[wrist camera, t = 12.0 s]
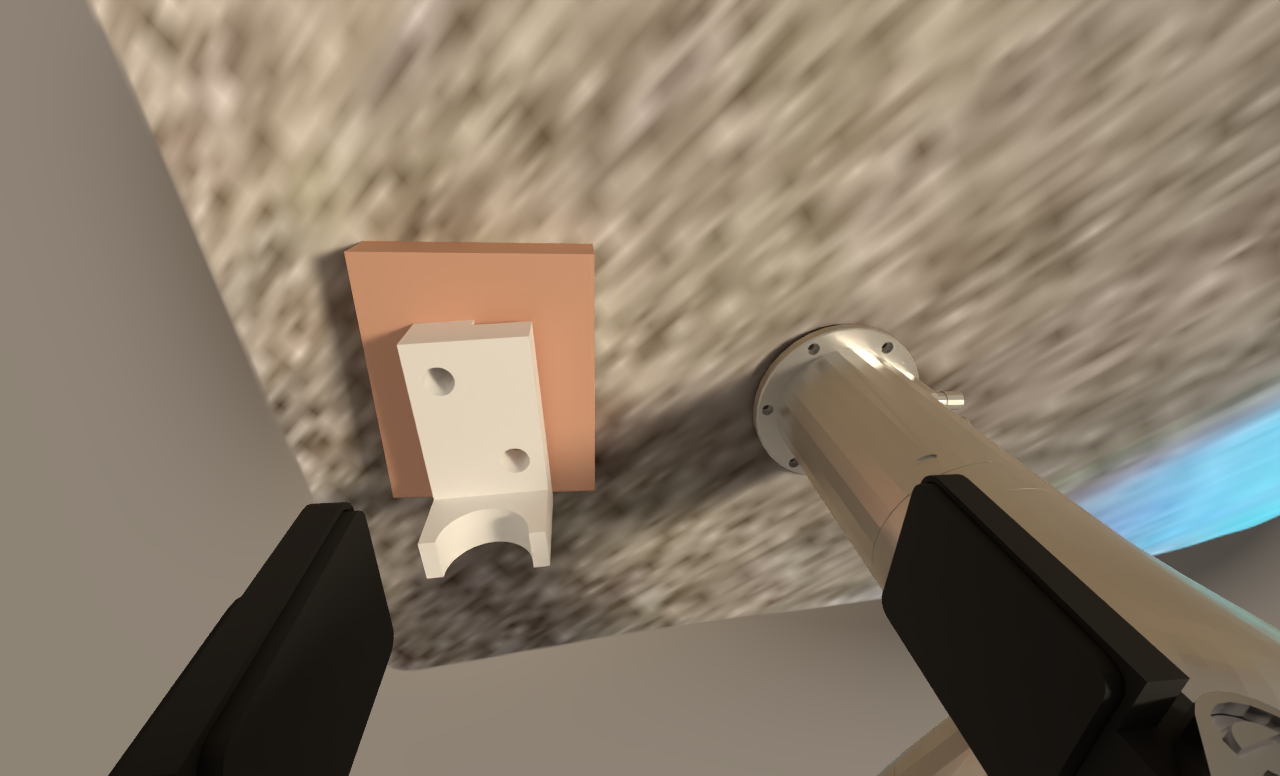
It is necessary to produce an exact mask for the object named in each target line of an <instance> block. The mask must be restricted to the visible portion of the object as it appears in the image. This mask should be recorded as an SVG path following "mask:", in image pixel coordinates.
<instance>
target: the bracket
mask: <svg viewBox="0 0 1280 776" xmlns="http://www.w3.org/2000/svg"><path fill="white" fill-rule="evenodd" d="M397 348H398V353H399V357H400V361H401V365H402V369H403V373H404V378H405V382H406V386H407V390H408V394H409V398H410V403H411V407H412V411H413V415H414V419H415V423H416V428H417V432H418V436H419V440H420V444H421V448H422V452H423V457H424V461H425V465H426V469H427V473H428V477H429V482H430V486H431V490H432V494H433V498H434V501H433V504H432V506H431V509H430V512H429V515H428V517H427V520H426V523H425V526H424V528H423V531H422V534H421V536H420V539H419V542H418V547H419V551H420V554H421V558H422V562H423V566H424V569H425V573H426V577H427V579H428V578H438V577H444V575H445V572H446V570H447V568H448V567H449V566H450V564H451V563H452V562H453V561H454V560H455V559H456V558H457V557H458V556H460V555H461V554H462V553H464V552H465V551H467V550H469V549H471V548H473V547H476V546H478V545H481V544H485V543H490V542H511V543H515V544H518V545H520V546H522V547H524V548H525V549H526V550H527V551H528V552H529V553H530V554H531V556H532V559H533V565H534V567H544V566H550V554H551V533H552V512H553V492H552V484H551V475H550V467H549V459H548V451H547V442H546V434H545V426H544V417H543V409H542V401H541V393H540V384H539V376H538V368H537V360H536V351H535V343H534V335H533V327H532V321H526V322H510V323H495V324H479V325H475V324H474V320H463V321H447V322H431V323H415V324H413V325H412V326H411V327H410V329H409V330H408V331H407V333H406V334H405V335H404V336H403V338H402V339H401V340H400V341H399V343H398V344H397ZM514 449H521V450H514Z"/></svg>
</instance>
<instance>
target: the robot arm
mask: <svg viewBox="0 0 1280 776" xmlns="http://www.w3.org/2000/svg"><path fill="white" fill-rule="evenodd" d="M811 344H812V345H811ZM810 345H811V347H809V346H810ZM765 405H766V406H765ZM963 405H964V397H963V395H962V393H961V392H959V391H941V392H935V391H933V390H932V389H931V388H929V387H928V386H926V385H925V384H924V383H922V382H921V381H920V380H919V375H918V371H917V368H916V365H915V362H914V360H913V358H912V357H911V355H910V354H909V352H908V350H907V349H906V348H905V347H904V346H903V345H902V344H901V343H899V342H898V341H897V340H896V339H894V338H893V337H891V336H890V335H888V334H887V333H885V332H883V331H881V330H878V329H876V328H873V327H870V326H864V325H859V324H841V325H836V326H831V327H825V328H823V329H820V330H817V331H815V332H812V333H810V334H808V335H806V336H804V337H803V338H801V339H799V340H797V341H796V342H794V343H793V344H792V345H790V346H789V347H788V348H787V349H785V350H784V351H783V352H782V353H781V354H780V355H779V356H778V357H777V358H776V359H775V361H774V362H773V363H772V364H771V365H770V366H769V368H768V370H767V371H766V373H765V375H764V376H763V378H762V379H761V382H760V384H759V387H758V390H757V392H756V396H755V401H754V407H753V418H754V425H755V429H756V433H757V436H758V438H759V440H760V441H761V443H762V445H763V447H764V448H765V450H766V451H767V453H768V454H769V456H770V457H771V458H772V459H774V460H775V461H776V462H777V463H778V464H779V465H781V466H782V467H784V468H786V469H787V470H789V471H792V472H795V473H798V474H801V475H806V476H807V477H808V478H809V480H810V481H811V483H812V484H813V486H814V487H815V489H816V490H817V492H818V494H819V495H820V497H821V498H822V500H823V501H824V503H825V504H826V506H827V507H828V509H829V510H830V512H831V513H832V515H833V516H834V518H835V519H836V521H837V522H838V524H839V525H840V527H841V528H842V530H843V531H844V533H845V534H846V536H847V537H848V539H849V540H850V542H851V543H852V545H853V546H854V548H855V550H856V551H857V553H858V554H859V556H860V557H861V559H862V560H863V562H864V563H865V565H866V566H867V568H868V569H869V571H870V572H871V574H872V575H873V577H874V578H875V580H876V581H877V583H878V584H879V586H880V587H881V588H882V590H883V593H882V605H883V609H884V612H885V614H886V616H887V618H888V619H889V621H890V623H891V624H892V625H893V627H894V629H895V630H896V632H897V634H898V635H899V637H900V638H901V640H902V641H903V643H904V644H905V646H906V648H907V649H908V651H909V652H910V654H911V656H912V657H913V659H914V660H915V662H916V663H917V665H918V667H919V668H920V670H921V671H922V673H923V675H924V676H925V678H926V679H927V681H928V682H929V684H930V686H931V687H932V688H933V690H934V692H935V693H936V695H937V697H938V698H939V700H940V701H941V703H942V705H943V706H944V708H945V709H946V711H947V712H948V714H949V716H948V717H947V718H946V719H945V720H943V721H942V722H941V723H940V724H938V725H937V726H936V727H934V728H933V729H932V730H931V731H929V732H928V733H927V734H926V735H925V736H923V737H922V738H920V739H919V740H918V741H917V742H915V743H914V744H913V745H912V746H910V747H909V748H908V749H906V750H905V751H904V752H903V753H902V754H901V755H900V756H899V757H898V758H896V759H895V760H894V761H893V762H891V763H890V764H889V765H888V766H887V767H885V768H884V769H883V770H882V771H881V772H880V773H879V774H878V775H877V776H1280V630H1278V629H1277V628H1275V627H1273V626H1271V625H1270V624H1268V623H1266V622H1265V621H1263V620H1261V619H1259V618H1258V617H1256V616H1254V615H1252V614H1250V613H1249V612H1247V611H1245V610H1243V609H1242V608H1240V607H1238V606H1236V605H1235V604H1233V603H1231V602H1229V601H1228V600H1226V599H1224V598H1222V597H1221V596H1219V595H1217V594H1215V593H1214V592H1212V591H1210V590H1208V589H1207V588H1205V587H1203V586H1202V585H1200V584H1198V583H1196V582H1195V581H1193V580H1191V579H1189V578H1188V577H1186V576H1184V575H1182V574H1181V573H1179V572H1177V571H1176V570H1174V569H1173V568H1171V567H1170V566H1168V565H1166V564H1165V563H1163V562H1161V561H1160V560H1158V559H1157V558H1155V557H1153V556H1152V555H1150V554H1149V553H1147V552H1145V551H1144V550H1142V549H1141V548H1139V547H1137V546H1136V545H1134V544H1133V543H1131V542H1130V541H1128V540H1127V539H1125V538H1124V537H1122V536H1121V535H1120V534H1118V533H1117V532H1115V531H1114V530H1113V529H1111V528H1110V527H1108V526H1107V525H1105V524H1104V523H1103V522H1101V521H1100V520H1098V519H1097V518H1096V517H1094V516H1093V515H1091V514H1090V513H1088V512H1087V511H1086V510H1084V509H1083V508H1081V507H1080V506H1079V505H1077V504H1076V503H1074V502H1073V501H1071V500H1070V499H1069V498H1067V497H1066V496H1065V495H1063V494H1062V493H1061V492H1059V491H1058V490H1057V489H1055V488H1054V487H1053V486H1051V485H1050V484H1049V483H1047V482H1046V481H1045V480H1043V479H1042V478H1041V477H1039V476H1038V475H1037V474H1035V473H1034V472H1032V471H1031V470H1030V469H1028V468H1027V467H1026V466H1024V465H1023V464H1022V463H1020V462H1019V461H1018V460H1017V459H1015V458H1014V457H1013V456H1011V455H1010V454H1009V453H1007V452H1006V451H1005V450H1003V449H1002V448H1001V447H999V446H998V445H997V444H995V443H994V442H993V441H991V440H990V439H989V438H988V437H986V436H985V435H984V434H982V433H981V432H980V431H978V430H977V429H976V428H974V427H973V426H972V425H971V423H970V422H969V420H968V419H967V418H965V417H960V416H958V415H957V414H956V413H955V412H953V411H952V410H959V409H961V408H962V406H963ZM764 406H765V407H764ZM393 639H394V633H393V626H392V622H391V618H390V614H389V610H388V606H387V602H386V598H385V594H384V589H383V585H382V581H381V577H380V573H379V569H378V565H377V561H376V557H375V553H374V549H373V545H372V541H371V537H370V532H369V528H368V524H367V520H366V517H365V514H364V513H363V512H362V511H354V509H353V506H352V505H351V504H350V503H347V502H340V503H319V504H309V505H307V506H306V507H305V508H304V509H303V510H302V512H301V513H300V514H299V516H298V517H297V519H296V520H295V521H294V523H293V524H292V526H291V527H290V529H289V530H288V531H287V533H286V534H285V536H284V537H283V538H282V540H281V541H280V543H279V544H278V545H277V547H276V549H275V550H274V551H273V553H272V554H271V555H270V557H269V558H268V560H267V561H266V563H265V564H264V565H263V567H262V568H261V570H260V571H259V572H258V574H257V575H256V577H255V578H254V579H253V581H252V582H251V584H250V585H249V587H248V588H247V589H246V591H245V592H244V594H243V595H242V596H241V597H240V598H238V599H236V600H235V601H234V603H233V604H232V605H231V606H230V607H229V608H228V609H227V611H226V612H225V613H224V615H223V616H222V618H221V619H220V621H219V622H218V623H217V625H216V626H215V627H214V629H213V630H212V632H211V633H210V634H209V636H208V637H207V638H206V640H205V641H204V643H203V644H202V645H201V647H200V648H199V650H198V651H197V653H196V654H195V655H194V657H193V658H192V660H191V661H190V662H189V664H188V665H187V667H186V668H185V669H184V671H183V672H182V673H181V675H180V676H179V678H178V679H177V680H176V682H175V683H174V685H173V686H172V687H171V689H170V690H169V692H168V693H167V694H166V696H165V697H164V698H163V700H162V701H161V703H160V704H159V706H158V707H157V708H156V710H155V711H154V713H153V714H152V715H151V717H150V718H149V719H148V721H147V722H146V724H145V725H144V726H143V728H142V729H141V731H140V732H139V733H138V735H137V736H136V738H135V739H134V740H133V742H132V743H131V745H130V746H129V747H128V749H127V750H126V751H125V753H124V754H123V756H122V757H121V759H120V760H119V761H118V763H117V764H116V766H115V767H114V768H113V770H112V771H111V772H110V774H109V775H108V776H349V773H350V770H351V767H352V764H353V761H354V758H355V755H356V753H357V750H358V747H359V744H360V741H361V738H362V735H363V732H364V730H365V727H366V724H367V721H368V718H369V715H370V712H371V709H372V707H373V704H374V701H375V698H376V695H377V692H378V689H379V686H380V684H381V681H382V677H383V675H384V672H385V669H386V666H387V663H388V661H389V658H390V655H391V651H392V647H393Z"/></svg>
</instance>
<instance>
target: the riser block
mask: <svg viewBox="0 0 1280 776" xmlns="http://www.w3.org/2000/svg"><path fill="white" fill-rule="evenodd" d="M344 254H345V259H346V264H347V269H348V274H349V279H350V284H351V289H352V294H353V299H354V304H355V309H356V314H357V319H358V324H359V329H360V334H361V339H362V344H363V349H364V354H365V359H366V364H367V369H368V374H369V379H370V384H371V389H372V394H373V399H374V404H375V409H376V414H377V418H378V423H379V428H380V433H381V438H382V443H383V448H384V453H385V458H386V463H387V468H388V473H389V478H390V483H391V488H392V493H393V498H403V497H430V496H433V494H432V490H431V486H430V482H429V477H428V473H427V469H426V465H425V461H424V457H423V452H422V448H421V444H420V440H419V436H418V432H417V428H416V423H415V419H414V415H413V411H412V407H411V403H410V398H409V394H408V390H407V386H406V382H405V378H404V373H403V369H402V365H401V361H400V357H399V353H398V348H397V344H398V343H399V341H400V340H401V339H402V338H403V336H404V335H405V334H406V333H407V331H408V330H409V329H410V327H411V326H412V325H413V324H415V323H431V322H447V321H463V320H474V324H475V325H479V324H495V323H510V322H526V321H532V327H533V335H534V343H535V351H536V360H537V368H538V376H539V384H540V393H541V401H542V409H543V417H544V426H545V434H546V442H547V451H548V459H549V467H550V475H551V484H552V492H564V491H591V490H595V352H594V250H593V244H557V243H478V242H399V241H362V242H361V243H359V244H357V245H355V246H353V247H352V248H350V249H348V250H346V251H344ZM514 450H521V449H514Z"/></svg>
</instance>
